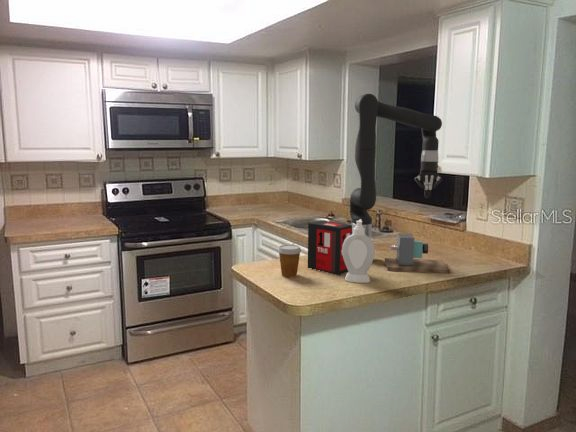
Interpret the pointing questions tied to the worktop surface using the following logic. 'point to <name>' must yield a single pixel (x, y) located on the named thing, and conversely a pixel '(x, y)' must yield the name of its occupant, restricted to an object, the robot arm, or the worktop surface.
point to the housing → (405, 249)
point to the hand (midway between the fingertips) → (427, 197)
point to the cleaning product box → (327, 246)
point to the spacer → (418, 249)
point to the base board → (418, 266)
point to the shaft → (424, 250)
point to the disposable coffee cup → (289, 259)
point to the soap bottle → (358, 255)
